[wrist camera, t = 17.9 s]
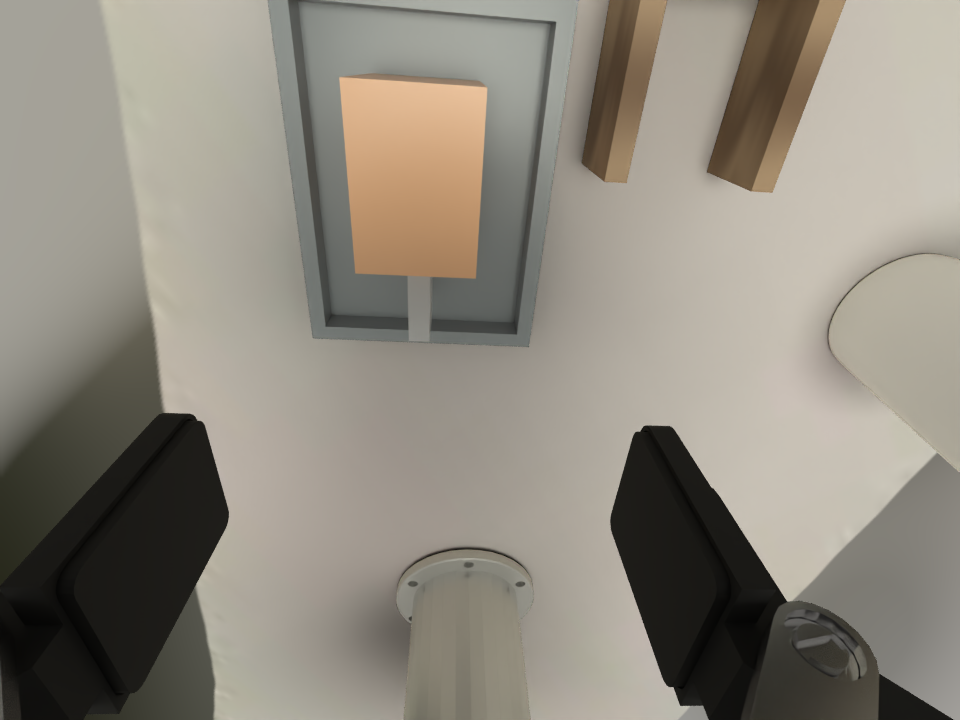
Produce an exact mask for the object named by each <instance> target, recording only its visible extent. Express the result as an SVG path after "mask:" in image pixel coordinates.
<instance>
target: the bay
mask: <svg viewBox="0 0 960 720" xmlns="http://www.w3.org/2000/svg"><path fill="white" fill-rule="evenodd" d="M845 1H846V0H759V3H758V6H757V9H756V13H755V16H754V19H753V23H752V26H751V29H750V32H749V36H748V39H747V42H746V45H745V49H744V52H743V55H742V59H741V62H740V65H739V68H738V72H737V75H736V78H735V82H734V85H733V88H732V91H731V95H730V98H729V101H728V104H727V108H726V111H725V114H724V118H723V121H722V124H721V127H720V131H719V134H718V137H717V140H716V144H715V147H714V150H713V154H712V157H711V160H710V163H709V167H708V170H707V172H708V173H711V174H713V175H715V176H717V177H720V178H722V179H724V180H727V181H729V182H731V183H733V184H736V185H738V186H740V187H743V188H745V189H747V190H749V191H754V192H770V193H772V192H773V190H774V187H775V184H776V182H777V179H778V176H779V174H780V171H781V169H782V166H783V163H784V161H785V158H786V156H787V153H788V150H789V148H790V145H791V142H792V140H793V137H794V135H795V132H796V129H797V127H798V124H799V122H800V119H801V116H802V114H803V111H804V109H805V106H806V103H807V101H808V98H809V95H810V93H811V90H812V88H813V85H814V82H815V80H816V77H817V75H818V72H819V69H820V67H821V64H822V61H823V59H824V56H825V54H826V51H827V48H828V46H829V43H830V41H831V38H832V35H833V33H834V30H835V27H836V25H837V22H838V20H839V17H840V14H841V12H842V9H843V7H844V4H845ZM666 3H667V0H610V2H609V8H608V13H607V19H606V25H605V31H604V37H603V43H602V48H601V54H600V60H599V66H598V72H597V78H596V83H595V89H594V95H593V101H592V107H591V112H590V118H589V124H588V130H587V136H586V142H585V147H584V153H583V159H582V164H583V165H584V166H586V167H587V168H588V169H589V170H591V171H592V172H593V173H594V174H596V175H597V176H598V177H599V178H601V179H602V180H603V181H604V182H618V183H627V178H628V174H629V169H630V165H631V160H632V156H633V151H634V147H635V142H636V138H637V133H638V129H639V124H640V120H641V115H642V111H643V107H644V102H645V98H646V93H647V89H648V84H649V80H650V75H651V71H652V66H653V62H654V57H655V53H656V48H657V44H658V39H659V35H660V30H661V26H662V21H663V17H664V12H665V8H666Z"/></svg>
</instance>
